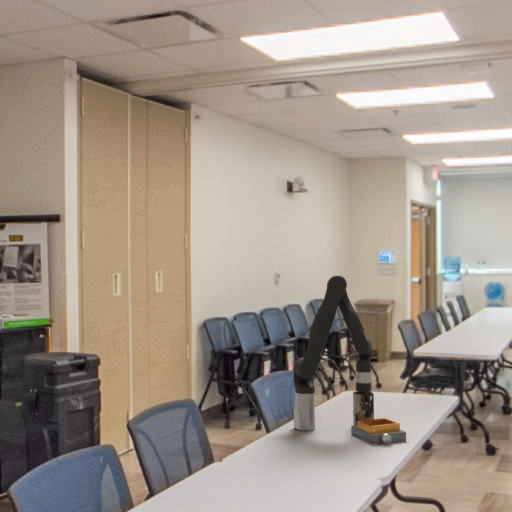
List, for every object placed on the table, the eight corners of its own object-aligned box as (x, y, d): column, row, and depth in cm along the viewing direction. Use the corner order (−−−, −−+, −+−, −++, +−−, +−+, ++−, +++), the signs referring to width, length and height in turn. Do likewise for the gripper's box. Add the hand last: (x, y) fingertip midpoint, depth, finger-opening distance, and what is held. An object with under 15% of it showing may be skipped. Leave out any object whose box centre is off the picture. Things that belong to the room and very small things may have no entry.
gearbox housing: (378, 446, 318) (377, 430, 317) (351, 434, 338) (351, 419, 338) (409, 442, 324) (409, 426, 324) (381, 431, 344) (381, 416, 344)
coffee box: (371, 424, 354) (371, 391, 354) (374, 428, 348) (374, 393, 348) (352, 425, 354) (352, 391, 354) (354, 428, 348) (354, 393, 348)
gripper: (349, 379, 356) (349, 413, 356) (364, 384, 343) (364, 419, 343) (362, 378, 359) (362, 411, 359) (378, 383, 346) (378, 417, 346)
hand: (363, 415), depth 351 cm, fingers closed on coffee box, 7 cm apart
